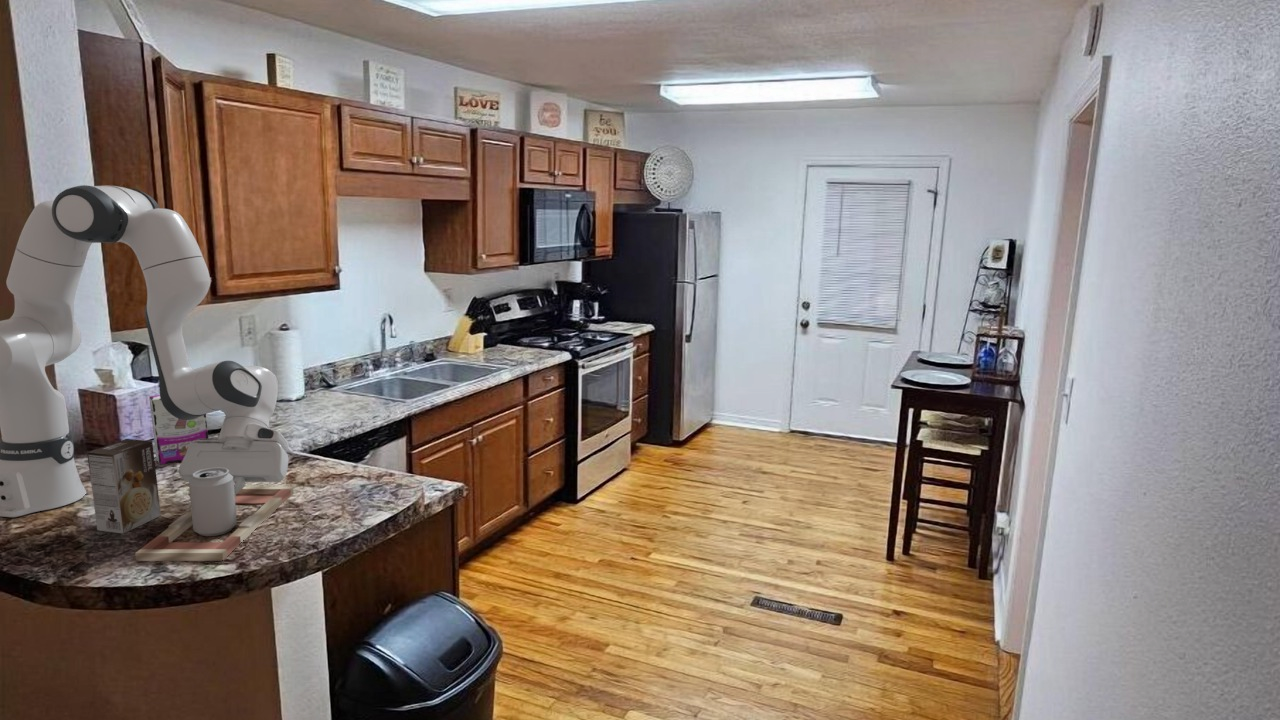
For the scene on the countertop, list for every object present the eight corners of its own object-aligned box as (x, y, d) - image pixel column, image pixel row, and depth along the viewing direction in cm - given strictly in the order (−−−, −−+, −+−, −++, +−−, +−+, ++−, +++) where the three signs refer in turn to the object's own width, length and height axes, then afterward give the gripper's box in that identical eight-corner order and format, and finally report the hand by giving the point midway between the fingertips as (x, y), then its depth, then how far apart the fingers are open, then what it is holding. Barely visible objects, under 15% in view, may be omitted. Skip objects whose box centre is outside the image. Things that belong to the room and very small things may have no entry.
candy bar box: (205, 451, 196) (200, 388, 192) (210, 456, 192) (205, 392, 189) (154, 459, 188) (148, 395, 185) (158, 465, 185) (152, 399, 181)
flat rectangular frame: (136, 560, 136) (134, 550, 136) (223, 492, 168) (222, 484, 168) (223, 560, 137) (222, 550, 137) (293, 493, 169) (293, 484, 169)
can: (200, 523, 152) (195, 466, 150) (241, 521, 154) (237, 464, 152) (187, 539, 145) (182, 479, 143) (230, 536, 147) (225, 477, 144)
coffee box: (135, 513, 157) (126, 437, 153) (162, 516, 155) (154, 440, 152) (95, 531, 148) (85, 451, 145) (123, 534, 147) (114, 454, 143)
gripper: (184, 431, 157) (163, 494, 150) (287, 431, 159) (271, 494, 151) (197, 445, 163) (177, 506, 155) (296, 445, 164) (281, 506, 156)
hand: (224, 500), depth 153 cm, fingers closed, pressing on can
